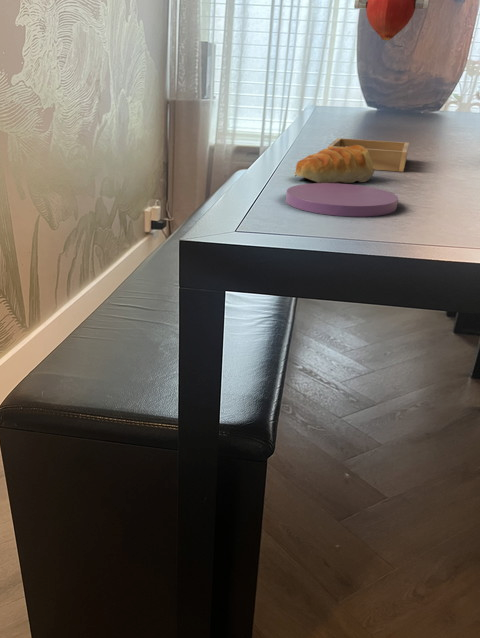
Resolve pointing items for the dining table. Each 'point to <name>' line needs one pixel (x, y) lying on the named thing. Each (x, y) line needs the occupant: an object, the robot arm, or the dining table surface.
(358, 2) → the robot arm
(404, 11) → the onion
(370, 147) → the tray
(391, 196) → the lid
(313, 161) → the pastry
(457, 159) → the dining table surface
